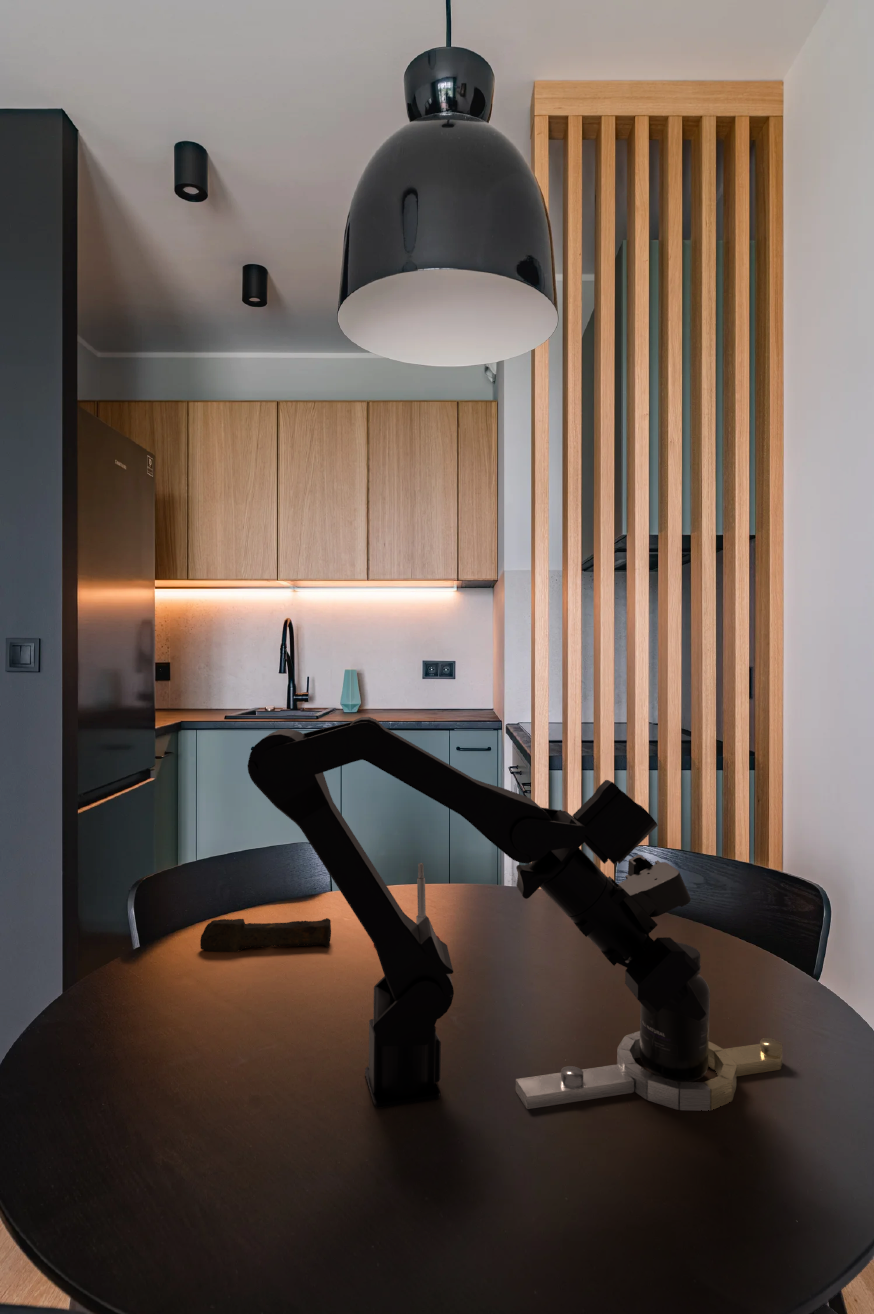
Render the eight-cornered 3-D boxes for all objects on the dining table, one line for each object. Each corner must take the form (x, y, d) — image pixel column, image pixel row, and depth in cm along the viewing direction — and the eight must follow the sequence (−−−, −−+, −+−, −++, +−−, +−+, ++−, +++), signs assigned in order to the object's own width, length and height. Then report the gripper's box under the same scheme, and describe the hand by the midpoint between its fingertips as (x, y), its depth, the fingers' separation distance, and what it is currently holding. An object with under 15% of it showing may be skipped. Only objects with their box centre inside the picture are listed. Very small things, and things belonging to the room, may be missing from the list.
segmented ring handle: (545, 1138, 65) (545, 1116, 65) (500, 1067, 76) (500, 1048, 76) (713, 1110, 69) (713, 1089, 69) (647, 1047, 80) (647, 1029, 80)
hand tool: (331, 940, 111) (331, 910, 111) (330, 950, 107) (331, 919, 107) (204, 945, 109) (204, 914, 109) (199, 956, 105) (199, 924, 105)
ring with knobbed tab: (708, 1111, 69) (708, 1090, 69) (643, 1047, 80) (643, 1029, 80) (821, 1092, 72) (821, 1072, 72) (743, 1033, 84) (743, 1016, 84)
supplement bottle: (634, 1073, 73) (635, 954, 73) (644, 1042, 79) (646, 933, 79) (706, 1091, 70) (707, 967, 70) (711, 1057, 76) (712, 943, 77)
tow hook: (362, 947, 109) (407, 961, 103) (360, 861, 110) (405, 870, 104) (400, 932, 115) (444, 944, 109) (398, 851, 116) (443, 858, 110)
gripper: (678, 864, 65) (792, 985, 66) (611, 820, 84) (701, 914, 85) (591, 952, 65) (707, 1073, 65) (543, 888, 83) (634, 982, 84)
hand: (687, 1001), depth 75 cm, fingers closed on supplement bottle, 7 cm apart
